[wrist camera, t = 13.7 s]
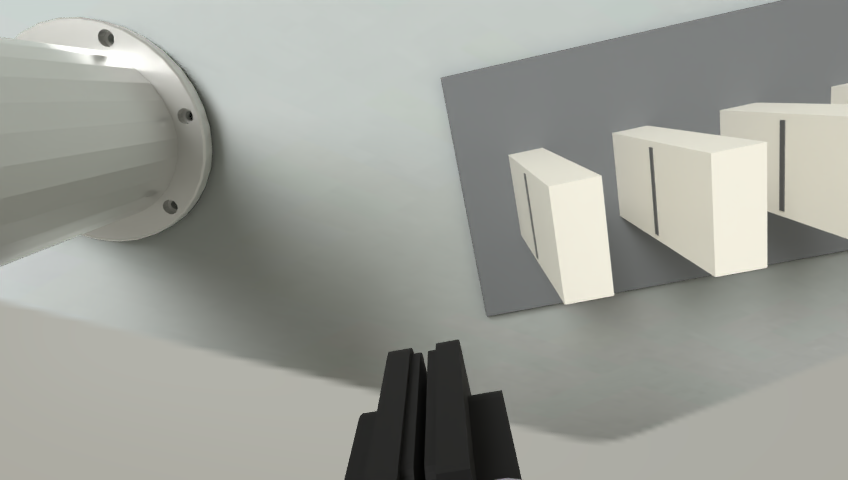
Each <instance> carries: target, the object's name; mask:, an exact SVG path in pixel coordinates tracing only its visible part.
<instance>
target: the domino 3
mask: <svg viewBox="0 0 848 480" xmlns="http://www.w3.org/2000/svg"><path fill="white" fill-rule="evenodd" d="M720 136H728V137H735V138H742V139H750V140H757V141H764V142H767V211H768V212H771V213H774V214H777V215H779V216H782V217H785V218H788V219H791V220H794V221H797V222H800V223H803V224H806V225H809V226H811V227H814V228H817V229H820V230H823V231H826V232H829V233H832V234H835V235H838V236H840V237H843V238H846V239H848V104H806V103H752V104H747V105H743V106H738V107H733V108H728V109H724V110H720Z"/></svg>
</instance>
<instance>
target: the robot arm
mask: <svg viewBox="0 0 848 480" xmlns="http://www.w3.org/2000/svg"><path fill="white" fill-rule="evenodd" d="M113 38H114V41H113ZM190 112H191V113H192V114H193V120H192V119H191V118H190V117H189V114H190ZM211 159H212V141H211V132H210V126H209V123H208V119H207V116H206V112H205V109H204V106H203V104H202V102H201V100H200V98H199V96H198V94H197V92H196V90H195V88H194V86H193V85H192V83H191V82H190V81H189V79H188V78H187V76H186V75H185V73H184V72H183V71H182V69H181V68H180V67H179V66H178V65H177V64H176V63H175V62H174V61H173V60H172V59H171V58H170V57H169V56H168V55H167V54H166V53H165V52H164V51H163V50H162V49H160V48H159V47H158V46H156V45H155V44H153V43H152V42H151V41H149V40H148V39H147V38H145V37H143V36H141V35H139V34H137V33H135V32H133V31H131V30H129V29H127V28H125V27H122V26H118V25H115V24H111V23H108V22H104V21H100V20H94V19H88V18H83V17H69V18H56V19H52V20H48V21H44V22H40V23H38V24H36V25H34V26H32V27H30V28H28V29H26V30H24V31H22V32H21V33H20V34H18V35H17V36H16V37H15V38H14V39H12V38H5V37H0V267H1V266H3V265H6V264H8V263H11V262H13V261H16V260H18V259H21V258H23V257H26V256H29V255H31V254H34V253H36V252H39V251H41V250H44V249H46V248H49V247H51V246H54V245H57V244H59V243H62V242H64V241H67V240H69V239H72V238H74V237H77V236H79V235H82V236H86V237H90V238H94V239H98V240H105V241H118V242H121V241H130V240H139V239H142V238H145V237H148V236H151V235H154V234H157V233H159V232H161V231H163V230H165V229H167V228H169V227H171V226H172V225H174V224H175V223H176V222H178V221H179V220H180V219H182V218H183V217H185V216H186V215H187V213H188V212H189V211H190V210H191V209H192V208H193V207H194V205H195V204H196V203H197V201H198V200H199V198H200V196H201V194H202V192H203V190H204V189H205V187H206V183H207V180H208V176H209V173H210V170H211ZM175 203H176V204H177V206H176V205H175ZM345 480H522V479H521V475H520V470H519V466H518V461H517V457H516V452H515V448H514V443H513V439H512V434H511V430H510V425H509V421H508V416H507V412H506V407H505V403H504V398H503V394H502V390H501V391H495V392H489V393H483V394H477V395H471V392H470V388H469V383H468V378H467V374H466V369H465V365H464V360H463V355H462V351H461V346H460V342H459V340H453V341H448V342H442V343H437V344H436V350H433V351H428V367H427V371H426V367H425V363H424V359H423V355H422V353H416V354H414V352H413V349H412V348H409V349H403V350H397V351H392V352H389V353H388V356H387V361H386V367H385V372H384V377H383V383H382V388H381V393H380V399H379V404H378V409H377V411H375V412H369V413H363V414H362V415H361V416H360V418H359V421H358V426H357V430H356V434H355V438H354V442H353V446H352V451H351V455H350V459H349V463H348V467H347V471H346V475H345Z"/></svg>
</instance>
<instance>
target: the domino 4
mask: <svg viewBox="0 0 848 480" xmlns="http://www.w3.org/2000/svg"><path fill="white" fill-rule="evenodd" d="M831 104H848V83H847V84H842V85H837V86H832V87H831Z"/></svg>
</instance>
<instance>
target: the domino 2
mask: <svg viewBox="0 0 848 480" xmlns="http://www.w3.org/2000/svg"><path fill="white" fill-rule="evenodd" d="M612 137H613V148H614V158H615V168H616V179H617V189H618V200H619V210H620V216H621V217H623V218H624V219H626V220H627V221H629V222H630V223H632V224H633V225H635V226H637V227H638V228H640V229H641V230H643V231H644V232H646V233H647V234H649V235H651V236H652V237H654V238H655V239H657V240H658V241H660V242H661V243H663V244H665V245H666V246H668V247H669V248H671V249H672V250H674V251H675V252H677V253H679V254H680V255H682V256H683V257H685V258H686V259H688V260H690V261H691V262H693V263H694V264H696V265H697V266H699V267H700V268H702V269H704V270H705V271H707V272H708V273H710V274H711V275H713V276H714V277H719V276H724V275H730V274H735V273H741V272H746V271H752V270H757V269H763V268H767V142H764V141H757V140H750V139H742V138H735V137H728V136H720V135H713V134H706V133H698V132H691V131H684V130H676V129H669V128H662V127H654V126H643V127H638V128H634V129H629V130H624V131H619V132H615V133H612Z"/></svg>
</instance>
